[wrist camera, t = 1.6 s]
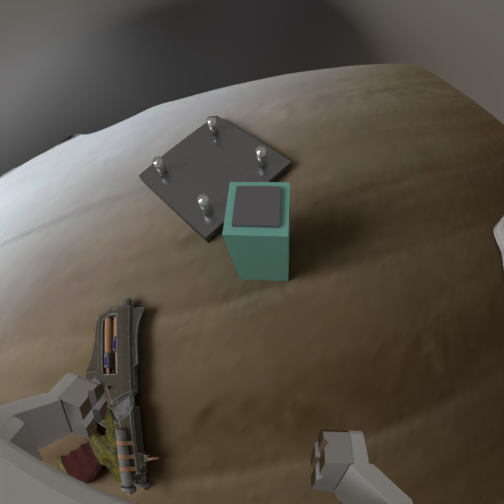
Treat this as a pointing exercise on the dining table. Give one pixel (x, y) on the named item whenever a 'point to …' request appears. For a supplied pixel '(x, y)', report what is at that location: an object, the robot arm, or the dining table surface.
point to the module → (258, 229)
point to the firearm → (114, 404)
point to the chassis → (211, 172)
